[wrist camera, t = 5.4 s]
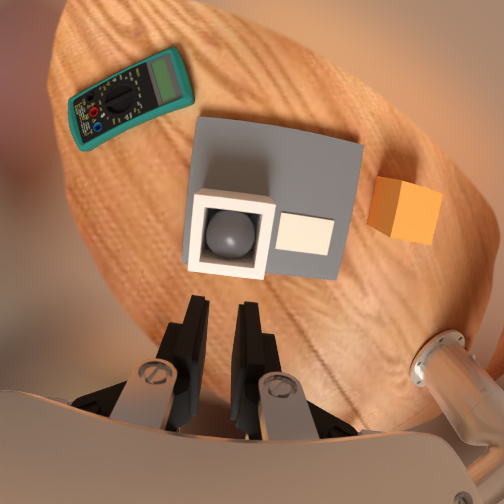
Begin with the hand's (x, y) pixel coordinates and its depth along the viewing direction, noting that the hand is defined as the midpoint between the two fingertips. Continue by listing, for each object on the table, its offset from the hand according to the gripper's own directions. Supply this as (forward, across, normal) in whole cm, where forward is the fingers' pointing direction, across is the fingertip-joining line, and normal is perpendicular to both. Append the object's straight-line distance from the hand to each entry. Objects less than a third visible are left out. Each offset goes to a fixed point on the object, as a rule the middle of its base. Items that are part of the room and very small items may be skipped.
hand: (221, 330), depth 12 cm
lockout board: (+21, -4, -3) cm, 22 cm away
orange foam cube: (+21, -19, -5) cm, 29 cm away
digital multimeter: (+22, +14, -13) cm, 29 cm away
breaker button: (+19, 0, 0) cm, 19 cm away
